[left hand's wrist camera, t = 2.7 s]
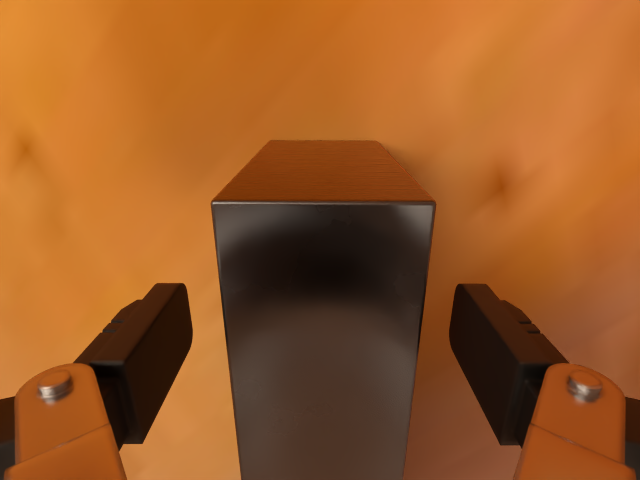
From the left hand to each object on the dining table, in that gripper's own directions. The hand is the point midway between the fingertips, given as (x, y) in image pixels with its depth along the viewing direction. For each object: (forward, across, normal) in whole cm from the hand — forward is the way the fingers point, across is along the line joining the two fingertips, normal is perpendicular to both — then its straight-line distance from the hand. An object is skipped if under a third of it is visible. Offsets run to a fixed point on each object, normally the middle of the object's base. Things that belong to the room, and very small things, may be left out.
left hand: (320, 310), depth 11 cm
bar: (+7, 0, +9) cm, 12 cm away
